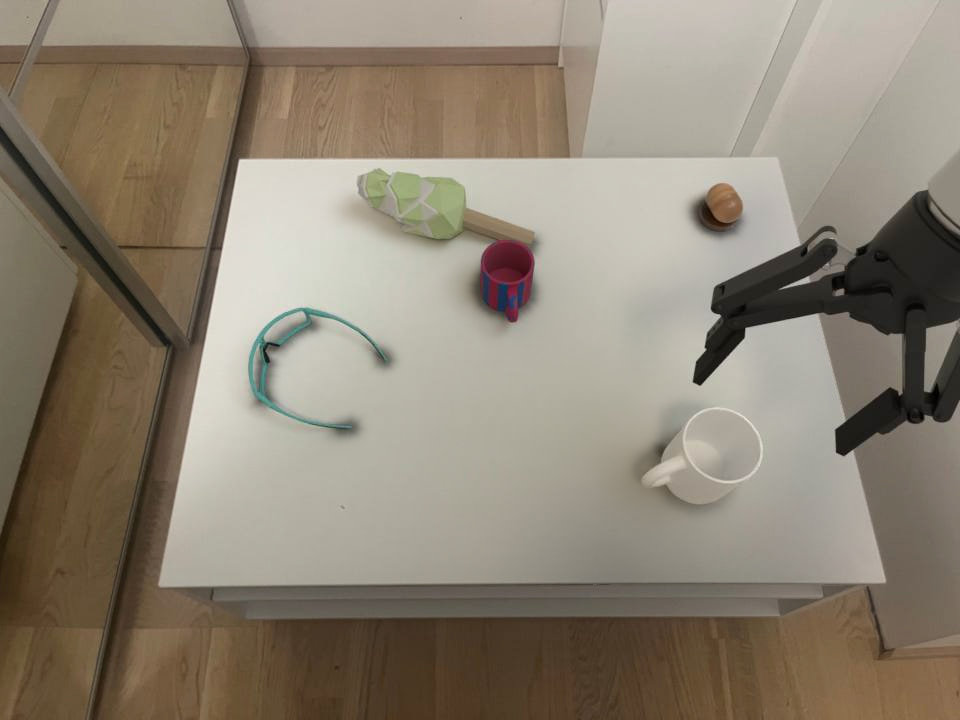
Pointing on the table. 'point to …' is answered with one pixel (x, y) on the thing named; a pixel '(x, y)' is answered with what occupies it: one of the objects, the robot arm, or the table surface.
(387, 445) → the table surface
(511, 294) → the cup
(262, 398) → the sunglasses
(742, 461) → the mug
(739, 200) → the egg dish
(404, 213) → the decorative object
